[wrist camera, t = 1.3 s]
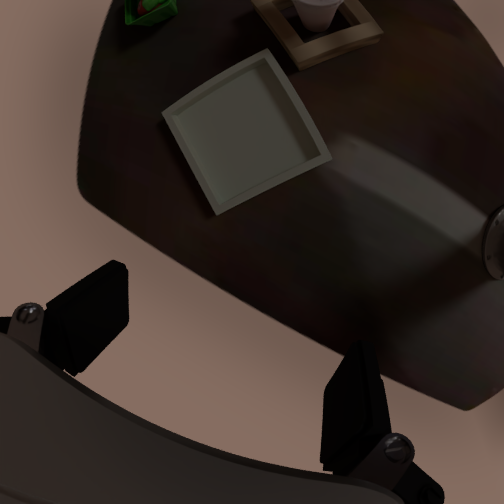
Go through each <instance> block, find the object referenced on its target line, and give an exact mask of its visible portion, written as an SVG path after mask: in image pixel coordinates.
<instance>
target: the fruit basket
mask: <svg viewBox="0 0 504 504" xmlns="http://www.w3.org/2000/svg"><path fill="white" fill-rule="evenodd" d="M177 14H178V11H177V7H176V0H125V23H126V24H127V25H142V26H149V27H150V26H152V25H154V24H155V23H159V22H161V21H163V20H165V19H168V18H169V17H171V16H175V15H177Z"/></svg>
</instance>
